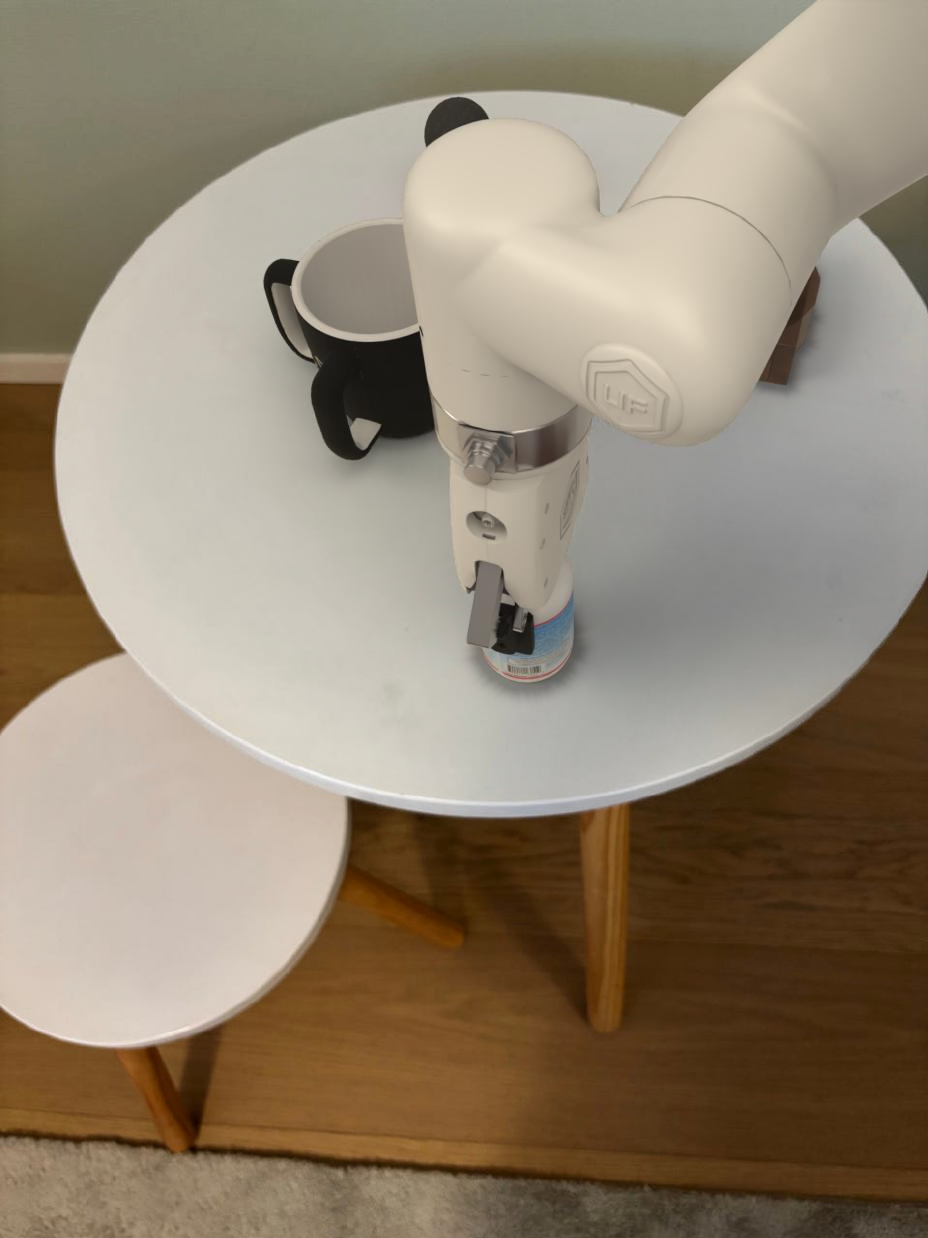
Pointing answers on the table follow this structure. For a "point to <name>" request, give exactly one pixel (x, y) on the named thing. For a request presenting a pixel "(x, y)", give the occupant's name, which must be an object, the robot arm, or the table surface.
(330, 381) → the mug
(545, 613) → the pill bottle
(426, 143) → the light bulb
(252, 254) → the table surface
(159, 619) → the table surface
